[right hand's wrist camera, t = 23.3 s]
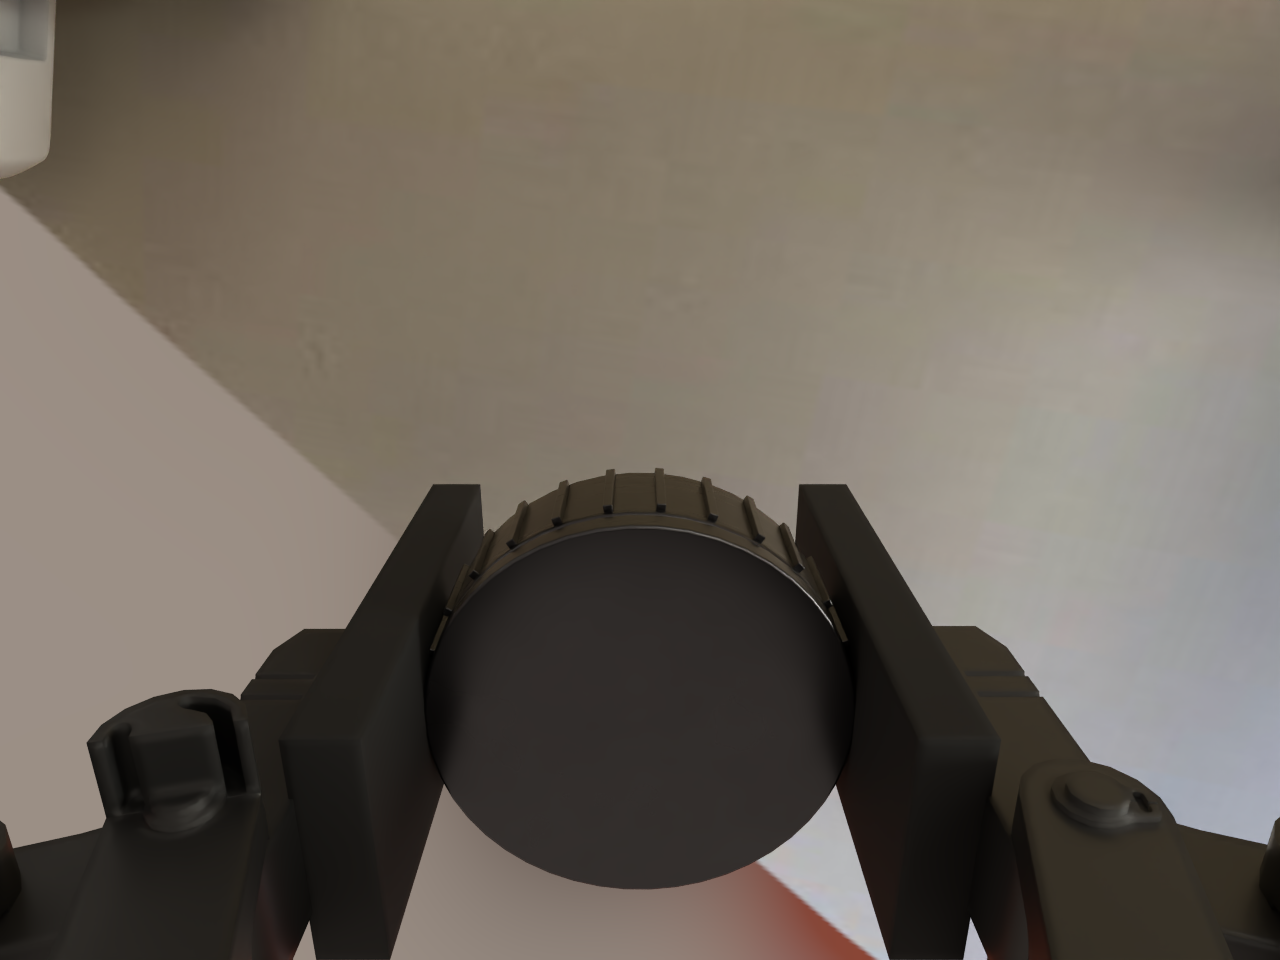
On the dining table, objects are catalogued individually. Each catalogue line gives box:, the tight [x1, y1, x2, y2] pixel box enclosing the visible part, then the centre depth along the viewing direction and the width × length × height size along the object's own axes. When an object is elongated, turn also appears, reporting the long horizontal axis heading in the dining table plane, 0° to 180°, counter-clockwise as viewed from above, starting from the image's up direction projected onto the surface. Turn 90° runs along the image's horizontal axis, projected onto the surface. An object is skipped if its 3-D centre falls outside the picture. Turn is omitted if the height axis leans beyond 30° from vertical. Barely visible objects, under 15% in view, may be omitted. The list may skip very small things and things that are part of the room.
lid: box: [424, 468, 856, 889], centre depth 11 cm, size 5×5×2 cm
